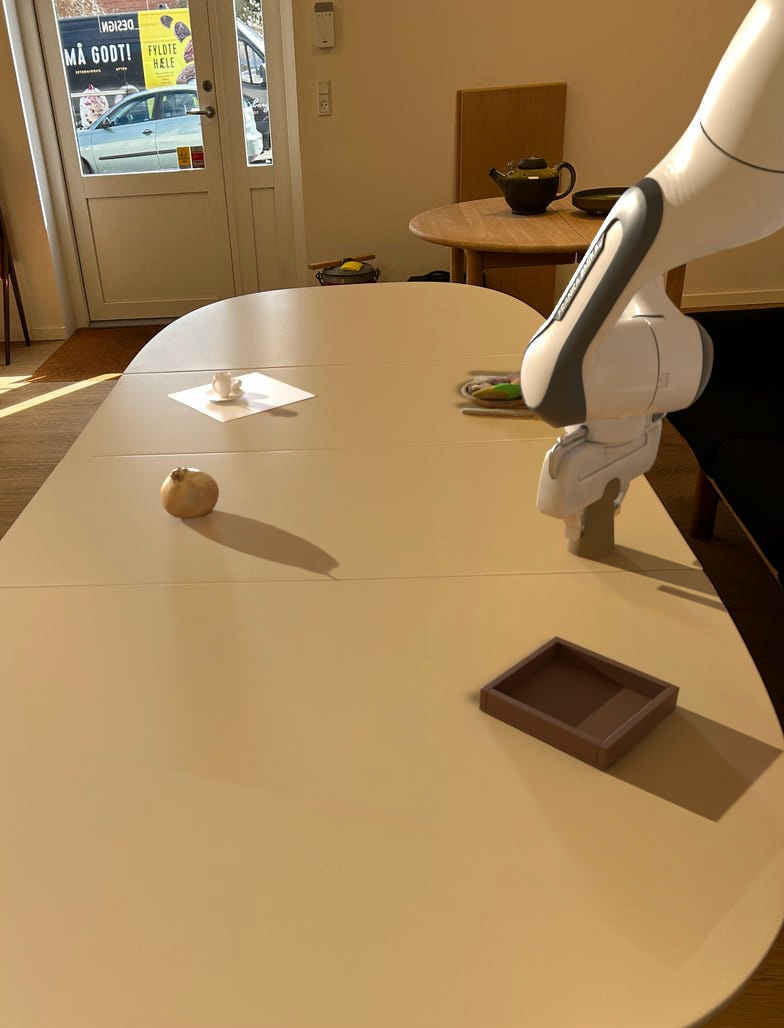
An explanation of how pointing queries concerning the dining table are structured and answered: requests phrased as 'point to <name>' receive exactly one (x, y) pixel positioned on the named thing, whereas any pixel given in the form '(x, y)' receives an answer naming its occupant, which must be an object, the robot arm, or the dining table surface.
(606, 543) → the chess pawn figurine
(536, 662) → the tray
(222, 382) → the teacup and saucer
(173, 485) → the onion
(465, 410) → the toy food set
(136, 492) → the dining table surface
